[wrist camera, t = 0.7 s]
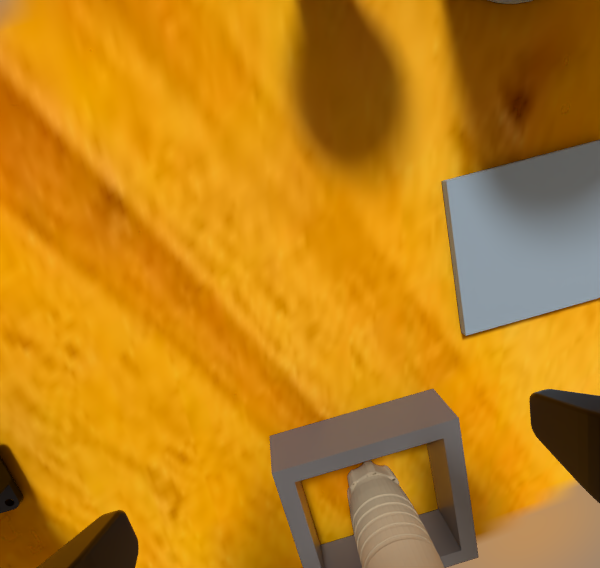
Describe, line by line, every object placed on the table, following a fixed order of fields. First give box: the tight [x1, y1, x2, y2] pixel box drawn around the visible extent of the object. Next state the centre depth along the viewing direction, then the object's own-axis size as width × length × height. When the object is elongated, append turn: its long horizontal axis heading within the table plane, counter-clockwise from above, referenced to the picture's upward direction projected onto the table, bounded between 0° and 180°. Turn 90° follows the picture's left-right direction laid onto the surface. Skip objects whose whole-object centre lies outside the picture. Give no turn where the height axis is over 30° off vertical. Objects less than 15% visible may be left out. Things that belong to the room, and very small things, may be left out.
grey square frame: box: [270, 389, 478, 568], centre depth 23 cm, size 10×10×3 cm
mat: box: [442, 140, 600, 336], centre depth 21 cm, size 9×9×1 cm
